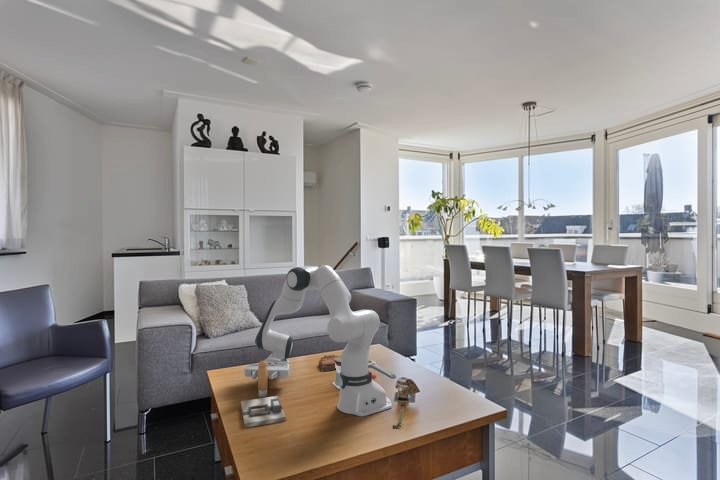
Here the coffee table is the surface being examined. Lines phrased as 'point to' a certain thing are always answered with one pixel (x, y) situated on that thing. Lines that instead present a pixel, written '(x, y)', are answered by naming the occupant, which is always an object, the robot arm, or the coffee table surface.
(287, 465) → the coffee table surface
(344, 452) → the coffee table surface
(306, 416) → the coffee table surface
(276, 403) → the block
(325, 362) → the pottery shard
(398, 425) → the tactical tomahawk
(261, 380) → the tan rounded rod
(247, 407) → the metal mounting plate
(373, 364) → the adjustable wrench
